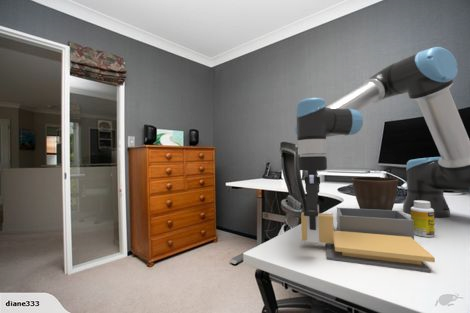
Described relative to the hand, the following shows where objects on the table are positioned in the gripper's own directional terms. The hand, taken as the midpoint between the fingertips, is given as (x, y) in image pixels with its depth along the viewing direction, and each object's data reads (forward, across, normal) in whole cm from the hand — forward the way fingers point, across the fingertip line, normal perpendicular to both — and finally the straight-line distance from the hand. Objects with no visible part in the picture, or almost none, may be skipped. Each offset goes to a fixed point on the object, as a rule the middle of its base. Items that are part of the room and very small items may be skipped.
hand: (314, 233), depth 61 cm
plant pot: (+4, -33, +21) cm, 39 cm away
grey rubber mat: (+4, 0, +13) cm, 14 cm away
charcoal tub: (+4, -14, +16) cm, 22 cm away
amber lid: (+3, 0, +10) cm, 11 cm away
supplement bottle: (+4, -20, +31) cm, 37 cm away
